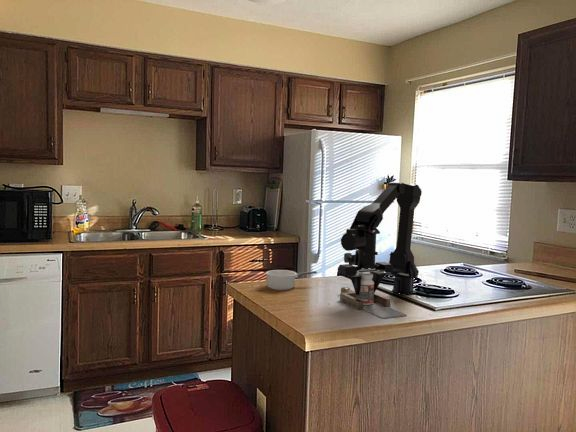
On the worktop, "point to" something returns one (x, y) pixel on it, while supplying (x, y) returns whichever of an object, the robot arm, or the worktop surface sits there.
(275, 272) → the saucepan
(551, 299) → the worktop surface
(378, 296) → the ball knob bracket
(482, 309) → the worktop surface
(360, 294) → the pill bottle
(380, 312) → the coaster
